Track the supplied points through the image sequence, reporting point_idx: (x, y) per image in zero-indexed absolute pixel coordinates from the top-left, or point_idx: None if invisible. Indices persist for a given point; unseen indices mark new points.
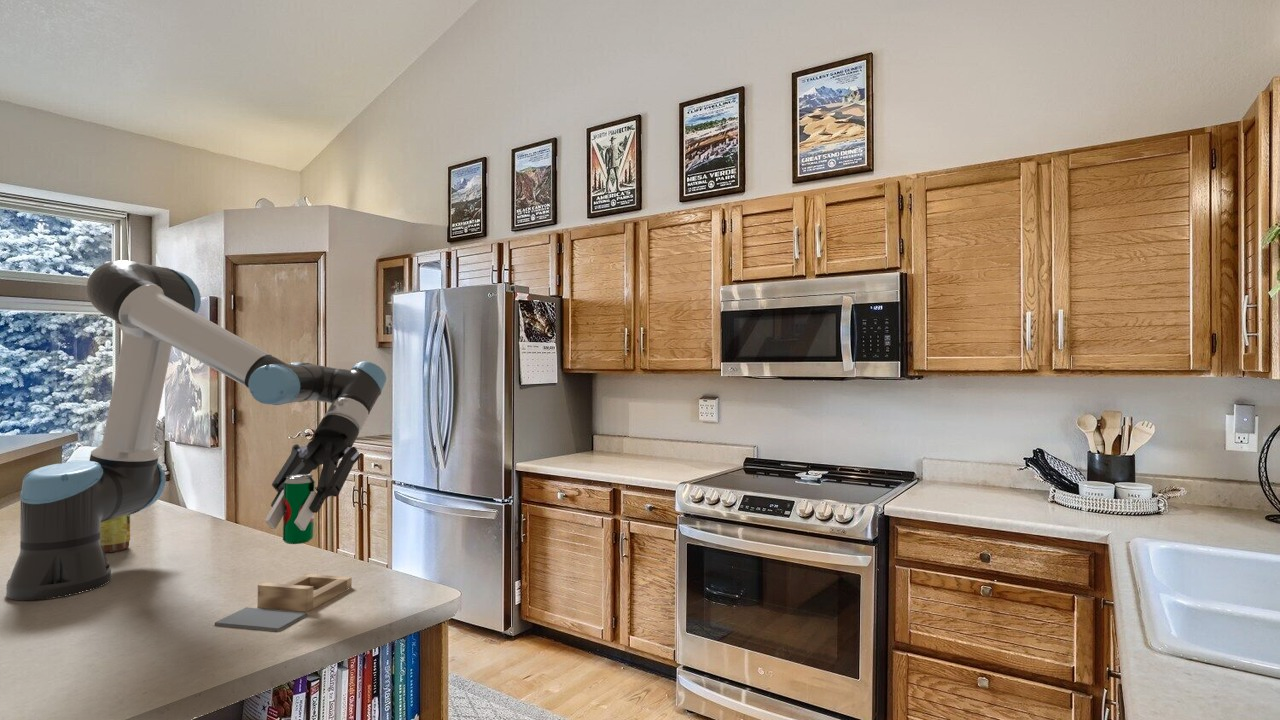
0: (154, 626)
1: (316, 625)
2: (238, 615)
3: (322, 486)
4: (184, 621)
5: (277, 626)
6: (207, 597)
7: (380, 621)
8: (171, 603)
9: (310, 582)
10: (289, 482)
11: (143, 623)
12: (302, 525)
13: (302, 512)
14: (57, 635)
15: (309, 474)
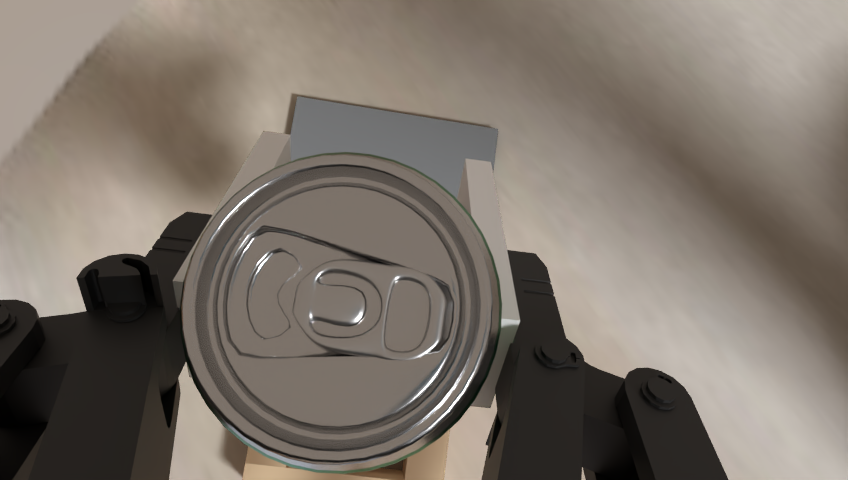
0: (644, 121)
1: (212, 144)
2: None
3: (93, 328)
4: (594, 156)
5: (308, 108)
6: (668, 341)
7: (25, 181)
8: (731, 283)
9: (400, 474)
10: (382, 159)
11: (686, 139)
12: None
13: (251, 167)
14: (818, 62)
15: (272, 443)
